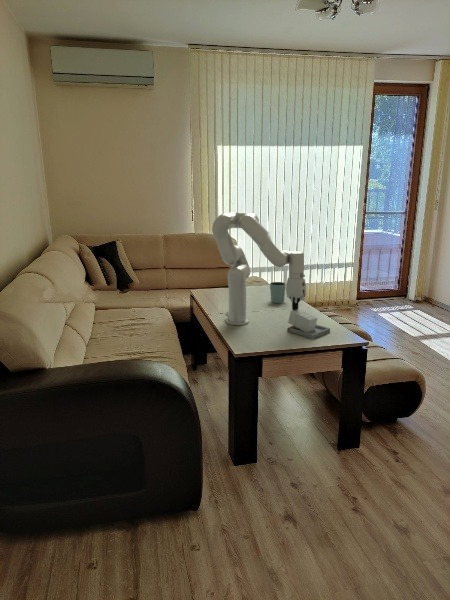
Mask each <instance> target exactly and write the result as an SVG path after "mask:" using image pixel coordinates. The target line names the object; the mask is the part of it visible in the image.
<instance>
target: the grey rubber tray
mask: <svg viewBox="0 0 450 600" xmlns="http://www.w3.org/2000/svg"><path fill="white" fill-rule="evenodd" d="M289 333H291V334H295V335H298V336H302V337H305V338H309V339H311V340H314V339H316V338H319V337H322V336H324V335H326V334H328V333H331V328H330V327H327V326H323V325H320V324H316V326H315V330H312V331H310V332H307V333H306V332H304V331H302V330H301V329H299V328H298V329H292V328H291V330H290V332H289Z"/></svg>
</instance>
